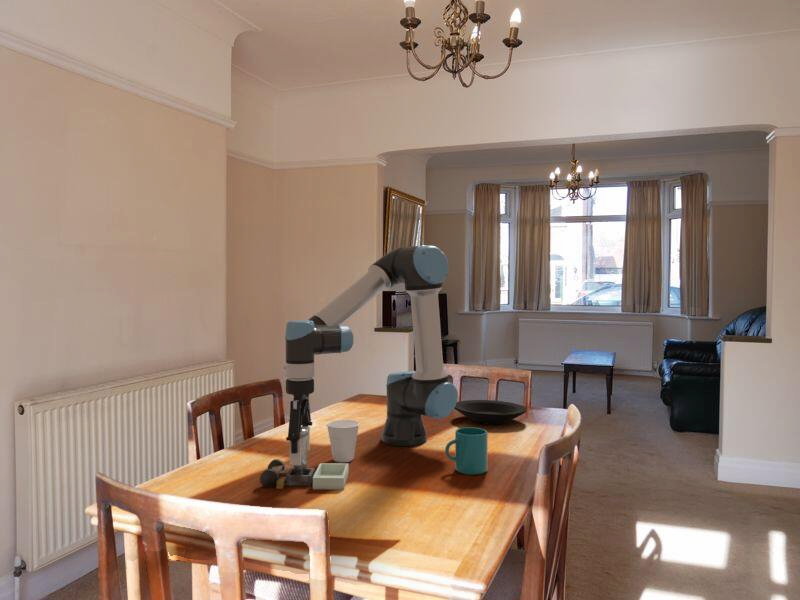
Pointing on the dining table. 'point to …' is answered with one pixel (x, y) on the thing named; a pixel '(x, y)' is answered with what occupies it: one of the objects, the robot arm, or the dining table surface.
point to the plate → (489, 411)
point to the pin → (302, 454)
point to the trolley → (277, 471)
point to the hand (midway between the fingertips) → (300, 457)
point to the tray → (331, 476)
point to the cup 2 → (469, 450)
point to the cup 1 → (343, 439)
